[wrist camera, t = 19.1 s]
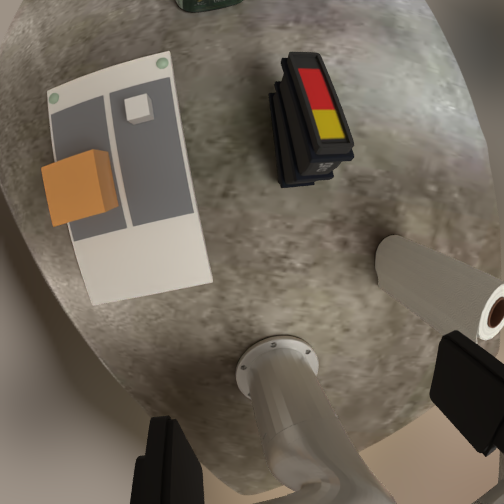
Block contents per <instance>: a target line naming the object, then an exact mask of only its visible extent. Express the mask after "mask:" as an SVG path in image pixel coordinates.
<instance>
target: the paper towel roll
mask: <svg viewBox="0 0 504 504" xmlns="http://www.w3.org/2000/svg"><path fill="white" fill-rule="evenodd" d="M375 269H376V272H377V275H378V280H379V284H378V287H379V288H381V289H382V290H384V291H385V292H386V293H388V294H389V295H390V296H392V297H393V298H394V299H396V300H397V301H398V302H400V303H401V304H403V305H404V306H405V307H407V308H408V309H409V310H411V311H412V312H413V313H415V314H416V315H417V316H419V317H420V318H421V319H422V320H424V321H425V322H426V323H428V324H429V325H430V326H432V327H433V328H434V329H436V330H437V331H438V332H439V333H441V334H442V335H443V336H444V335H446V334H448V333H450V332H452V331H454V330H458V331H460V332H461V333H462V334H464V335H465V336H467V337H468V338H469V339H471V340H472V341H473V342H475V343H476V344H477V337H479V338H480V339H483V340H488V339H491V338H493V337H494V336H495V335H496V334H497V333H498V332H499V331H500V330H501V328H502V327H503V325H504V281H502V280H500V279H498V278H496V277H494V276H492V275H490V274H488V273H486V272H483V271H481V270H479V269H477V268H475V267H472V266H470V265H468V264H466V263H464V262H461V261H459V260H457V259H454V258H452V257H450V256H448V255H445V254H443V253H441V252H438V251H436V250H433V249H431V248H429V247H426V246H424V245H421V244H419V243H417V242H414V241H412V240H409V239H407V238H404V237H402V236H399V235H390V236H388V237H386V238H384V240H383V241H382V242H381V243H380V244H379V246H378V248H377V251H376V259H375Z"/></svg>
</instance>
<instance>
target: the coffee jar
mask: <svg viewBox="0 0 504 504" xmlns="http://www.w3.org/2000/svg"><path fill="white" fill-rule="evenodd" d="M242 1H243V0H176V2H177V4H178V6H179V7H180V8H181V9H183V10H185V11H188V12H202V11H210V10H215V9H220V8H224V7H228V6H232V5H235V4H238V3H240V2H242Z"/></svg>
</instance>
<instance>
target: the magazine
mask: <svg viewBox="0 0 504 504" xmlns="http://www.w3.org/2000/svg"><path fill="white" fill-rule="evenodd" d="M281 66H282V69H283V72H284V75H283V78H282V81H279V82H275V84H274V85H275V89H276V93H269V102H270V109H271V117H272V126H273V134H274V143H275V153H276V162H277V172H278V182H279V184H280V186H281V188H288V187H298V186H309V185H314V182H315V181H318V180H330V179H332V178H333V177H334V175H333V170H334V169H335V168H337V167H338V166H339V164H340V163H341V162H342V161H351V160H352V159H353V158H354V154H353V151H352V147H353V146H354V141H353V138H352V135H351V132H350V129H349V126H348V124H347V121H346V118H345V115H344V112H343V110H342V107H341V104H340V102H339V99H338V96H337V94H336V91H335V89H334V86H333V84H332V81H331V79H330V76H329V74H328V72H327V69H326V67H325V64H324V62H323V60H322V58H321V55H320V54H319V53H313V52H289V55H288V58H282V60H281Z"/></svg>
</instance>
